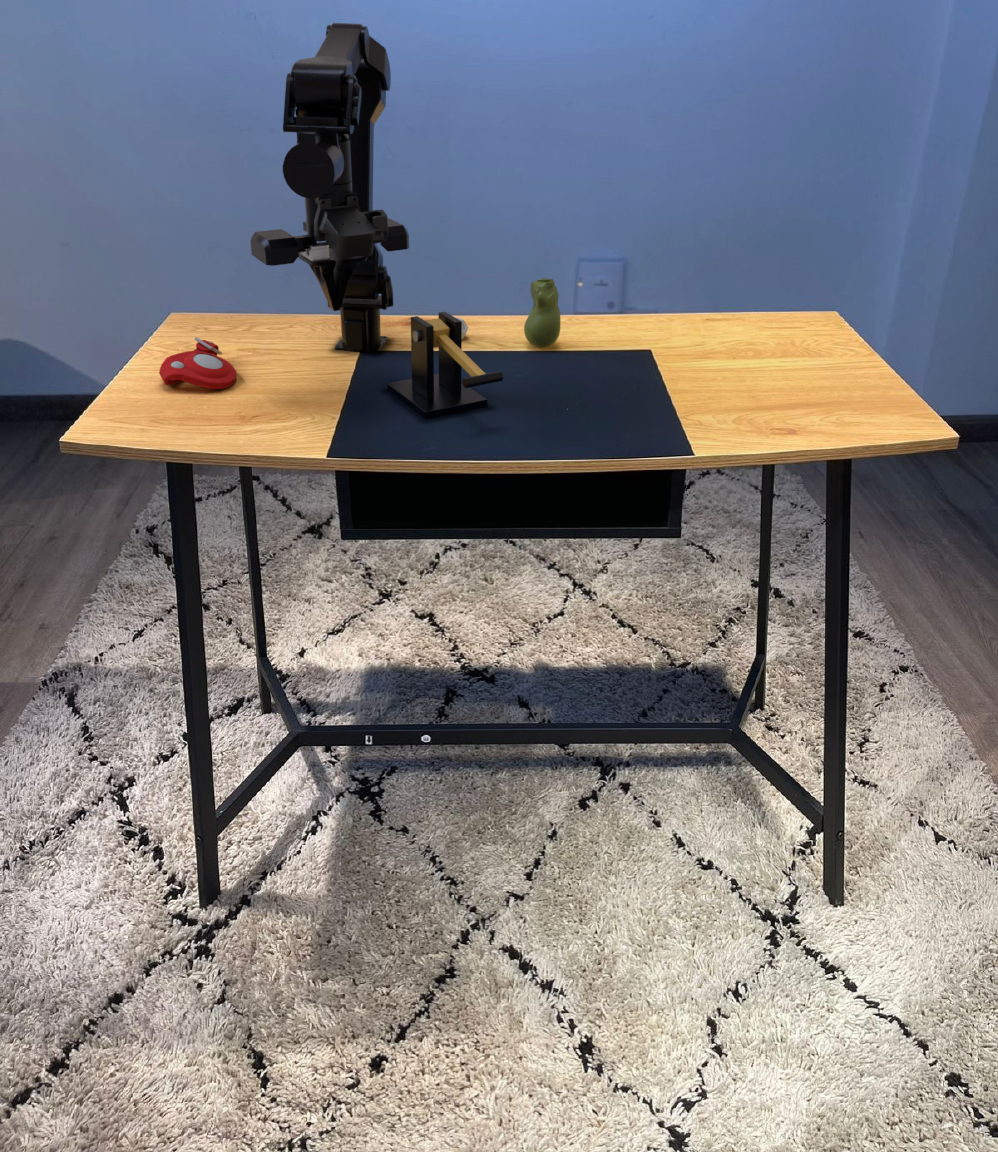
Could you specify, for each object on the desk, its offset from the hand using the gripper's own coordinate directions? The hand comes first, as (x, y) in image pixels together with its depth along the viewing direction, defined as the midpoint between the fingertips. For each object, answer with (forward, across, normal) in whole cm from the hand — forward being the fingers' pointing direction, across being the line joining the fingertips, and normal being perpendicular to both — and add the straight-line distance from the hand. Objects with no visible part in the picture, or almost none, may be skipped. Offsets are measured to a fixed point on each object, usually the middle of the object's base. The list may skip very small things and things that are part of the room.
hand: (335, 310), depth 129 cm
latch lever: (+4, +10, -14) cm, 17 cm away
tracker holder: (+11, -14, +13) cm, 22 cm away
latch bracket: (+11, +10, -8) cm, 17 cm away
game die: (+11, +24, +11) cm, 29 cm away
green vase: (+11, +34, +3) cm, 36 cm away
